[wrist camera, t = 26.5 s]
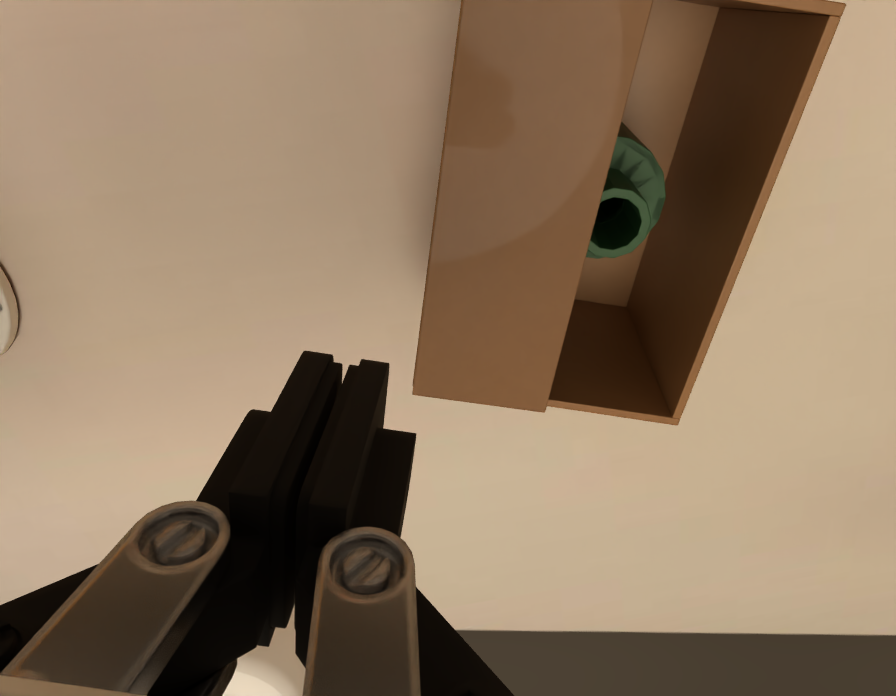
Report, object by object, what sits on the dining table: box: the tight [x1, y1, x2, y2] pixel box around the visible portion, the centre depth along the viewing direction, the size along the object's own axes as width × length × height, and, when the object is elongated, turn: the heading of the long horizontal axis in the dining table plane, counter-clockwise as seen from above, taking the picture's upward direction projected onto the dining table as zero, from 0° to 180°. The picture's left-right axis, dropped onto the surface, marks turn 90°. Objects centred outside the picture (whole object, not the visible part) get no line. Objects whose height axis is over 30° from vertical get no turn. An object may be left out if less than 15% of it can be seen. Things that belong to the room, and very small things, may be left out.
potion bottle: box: [222, 604, 306, 696], centre depth 44 cm, size 8×8×18 cm
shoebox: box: [413, 0, 846, 425], centre depth 31 cm, size 13×18×12 cm
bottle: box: [586, 122, 666, 259], centre depth 31 cm, size 6×6×11 cm
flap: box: [413, 0, 653, 412], centre depth 25 cm, size 6×18×1 cm, turn 172°
